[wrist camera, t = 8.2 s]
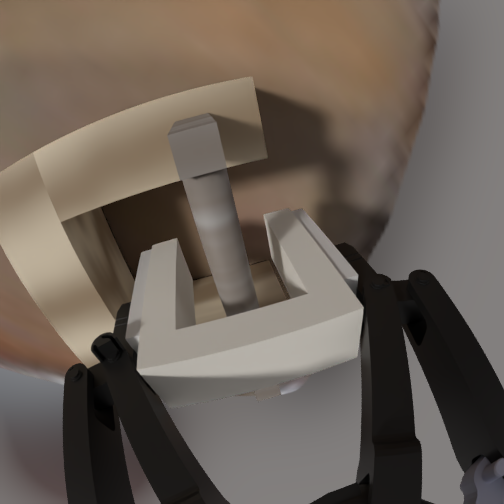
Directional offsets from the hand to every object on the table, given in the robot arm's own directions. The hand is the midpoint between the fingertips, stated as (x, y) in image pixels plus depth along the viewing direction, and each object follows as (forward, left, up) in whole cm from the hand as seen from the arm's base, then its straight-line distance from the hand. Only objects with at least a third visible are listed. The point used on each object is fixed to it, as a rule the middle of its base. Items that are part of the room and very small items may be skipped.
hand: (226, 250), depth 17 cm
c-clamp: (0, -5, -5) cm, 7 cm away
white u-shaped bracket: (0, 0, 0) cm, 0 cm away
